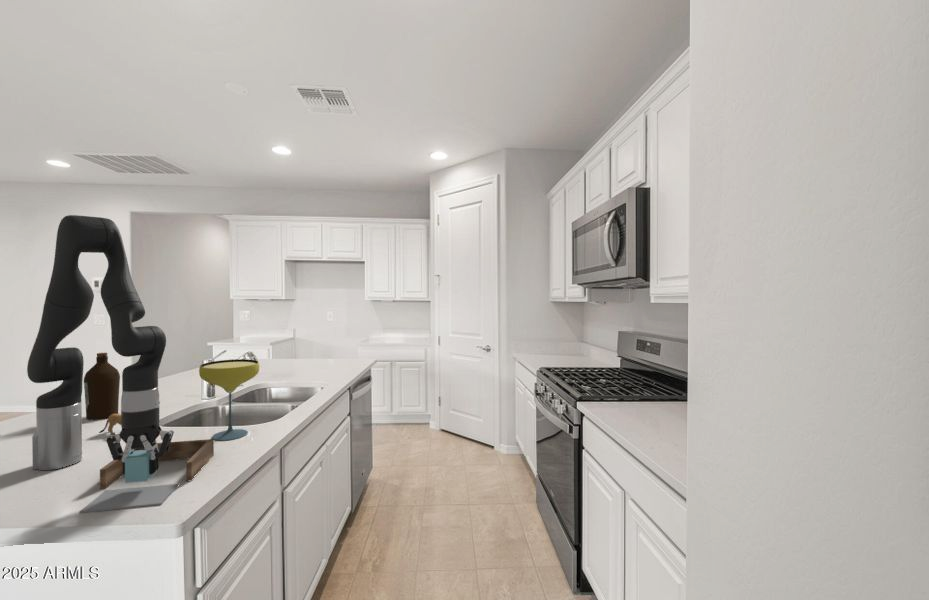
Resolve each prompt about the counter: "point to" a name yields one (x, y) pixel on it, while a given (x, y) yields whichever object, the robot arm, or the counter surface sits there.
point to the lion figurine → (112, 422)
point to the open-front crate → (177, 450)
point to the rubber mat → (130, 498)
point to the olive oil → (101, 389)
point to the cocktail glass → (229, 385)
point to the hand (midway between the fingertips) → (141, 473)
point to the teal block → (137, 467)
